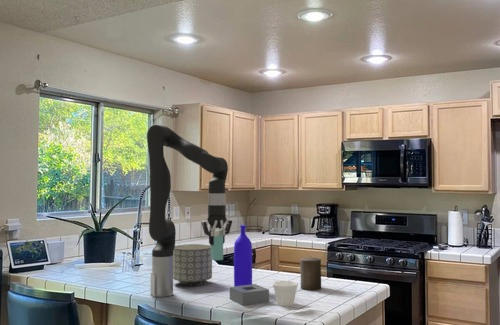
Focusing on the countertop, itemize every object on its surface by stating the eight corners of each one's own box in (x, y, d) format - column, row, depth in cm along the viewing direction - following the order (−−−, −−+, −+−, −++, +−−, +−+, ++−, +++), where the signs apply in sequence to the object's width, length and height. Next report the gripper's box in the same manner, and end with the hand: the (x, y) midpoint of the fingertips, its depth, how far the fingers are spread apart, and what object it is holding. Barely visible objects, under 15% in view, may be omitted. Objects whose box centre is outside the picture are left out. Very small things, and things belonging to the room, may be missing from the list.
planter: (191, 278, 246) (191, 243, 247) (219, 282, 235) (219, 245, 236) (164, 284, 231) (164, 247, 232) (194, 289, 220) (194, 250, 221)
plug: (214, 260, 198) (214, 231, 198) (210, 259, 202) (210, 230, 202) (223, 259, 200) (223, 231, 200) (219, 258, 203) (219, 230, 204)
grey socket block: (242, 308, 188) (242, 292, 188) (229, 301, 198) (229, 287, 199) (269, 304, 193) (269, 289, 194) (254, 298, 204) (254, 284, 204)
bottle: (234, 289, 220) (234, 224, 221) (252, 289, 220) (252, 224, 221) (233, 293, 212) (233, 226, 213) (252, 293, 212) (251, 226, 213)
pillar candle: (324, 290, 218) (323, 257, 219) (303, 291, 217) (303, 257, 218) (317, 285, 228) (317, 254, 229) (297, 286, 226) (297, 254, 227)
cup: (269, 308, 187) (269, 284, 187) (277, 302, 196) (277, 279, 197) (294, 311, 184) (293, 286, 184) (300, 304, 193) (300, 281, 193)
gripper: (204, 204, 195) (204, 247, 194) (235, 204, 202) (235, 244, 201) (197, 204, 202) (197, 244, 201) (228, 203, 208) (228, 242, 208)
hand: (216, 244), depth 201 cm, fingers closed on plug, 4 cm apart
